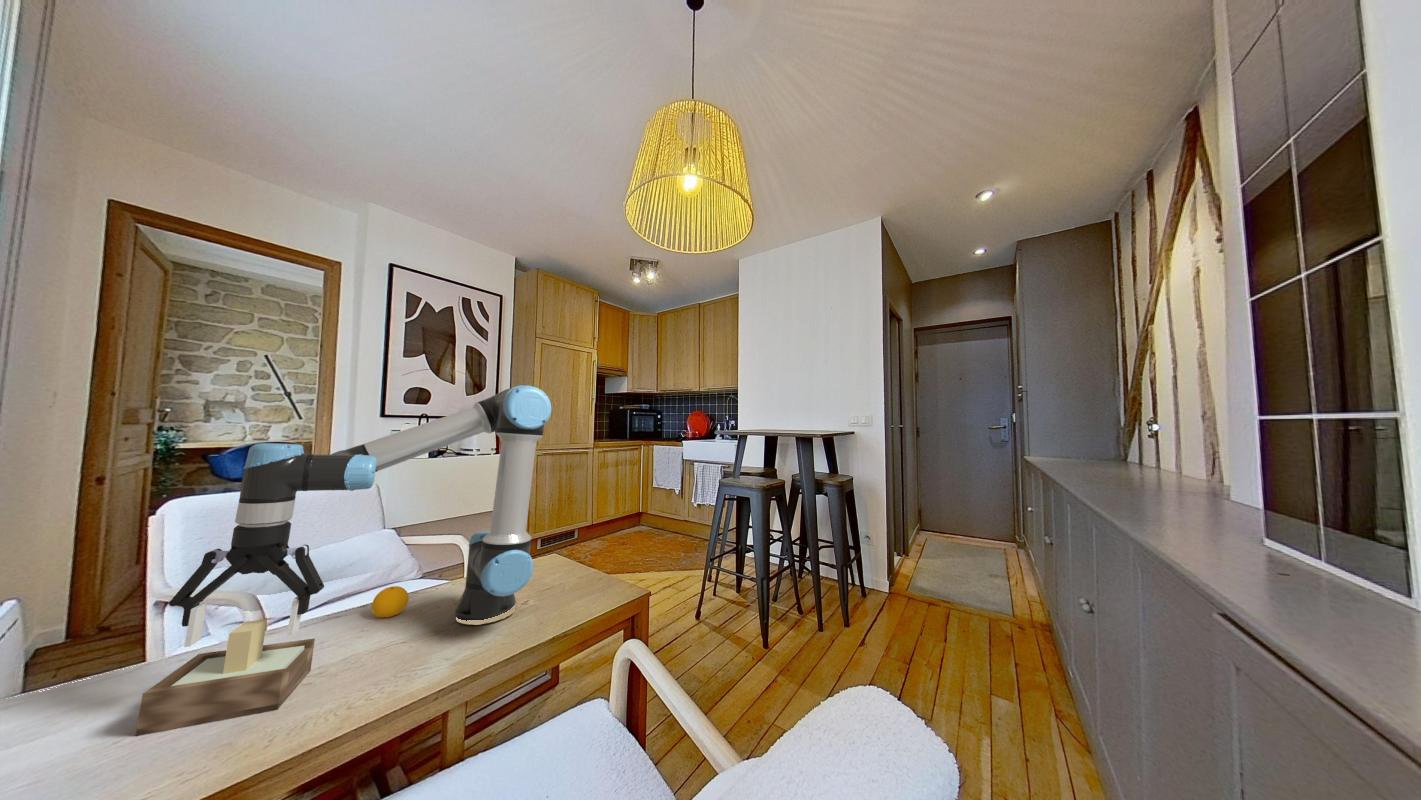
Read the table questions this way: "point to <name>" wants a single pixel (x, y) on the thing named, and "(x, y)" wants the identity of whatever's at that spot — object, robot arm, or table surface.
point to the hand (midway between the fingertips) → (244, 637)
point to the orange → (390, 601)
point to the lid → (243, 656)
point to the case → (220, 693)
